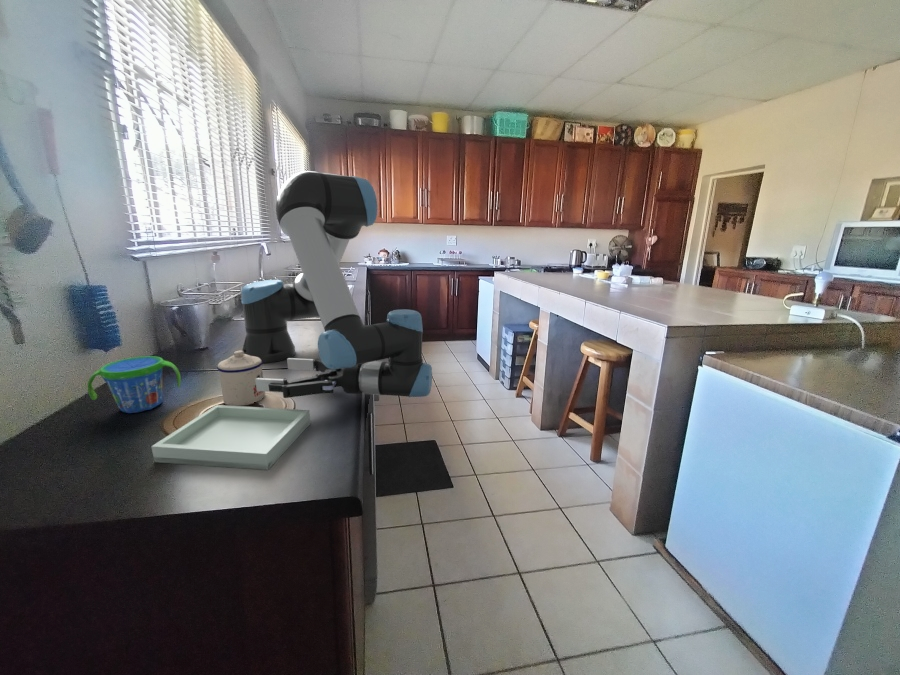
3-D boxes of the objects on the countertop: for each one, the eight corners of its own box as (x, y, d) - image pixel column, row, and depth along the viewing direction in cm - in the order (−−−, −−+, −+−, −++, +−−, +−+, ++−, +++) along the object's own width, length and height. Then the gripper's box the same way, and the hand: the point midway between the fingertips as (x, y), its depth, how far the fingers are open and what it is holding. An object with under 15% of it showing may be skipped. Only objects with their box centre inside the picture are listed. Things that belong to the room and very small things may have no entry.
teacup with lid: (264, 404, 86) (258, 355, 83) (218, 409, 83) (211, 359, 80) (268, 384, 97) (263, 341, 94) (228, 389, 93) (221, 344, 90)
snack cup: (85, 423, 76) (73, 376, 73) (106, 402, 85) (96, 360, 82) (178, 411, 82) (170, 366, 79) (188, 392, 91) (181, 352, 88)
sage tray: (218, 418, 79) (216, 404, 78) (310, 423, 77) (309, 410, 77) (154, 462, 64) (151, 446, 63) (268, 469, 62) (266, 453, 61)
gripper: (345, 418, 75) (243, 412, 76) (378, 373, 99) (300, 370, 100) (343, 382, 73) (238, 377, 74) (377, 346, 97) (297, 342, 98)
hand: (273, 373), depth 87 cm, fingers open, 13 cm apart
